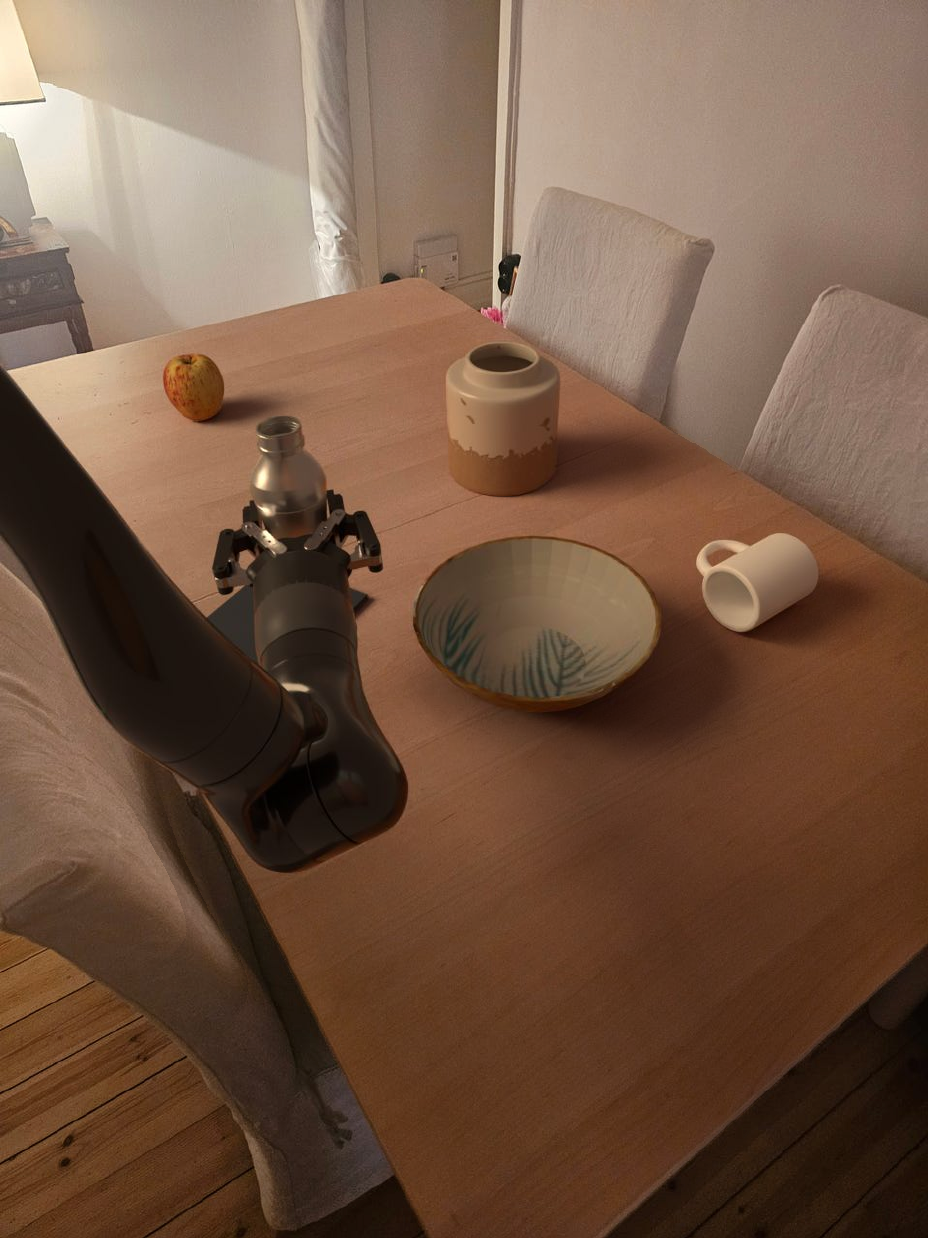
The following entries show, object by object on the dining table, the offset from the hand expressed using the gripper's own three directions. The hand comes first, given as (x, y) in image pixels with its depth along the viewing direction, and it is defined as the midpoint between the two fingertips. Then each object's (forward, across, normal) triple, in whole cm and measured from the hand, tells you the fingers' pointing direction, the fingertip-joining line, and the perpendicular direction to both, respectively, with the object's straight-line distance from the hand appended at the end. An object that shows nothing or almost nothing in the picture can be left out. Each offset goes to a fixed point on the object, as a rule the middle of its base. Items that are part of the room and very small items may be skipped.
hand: (293, 503), depth 75 cm
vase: (+35, -28, +21) cm, 50 cm away
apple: (+62, +14, +21) cm, 67 cm away
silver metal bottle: (-2, 0, +11) cm, 11 cm away
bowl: (-4, -22, +22) cm, 31 cm away
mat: (+9, +5, +22) cm, 24 cm away
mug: (0, -48, +22) cm, 53 cm away
